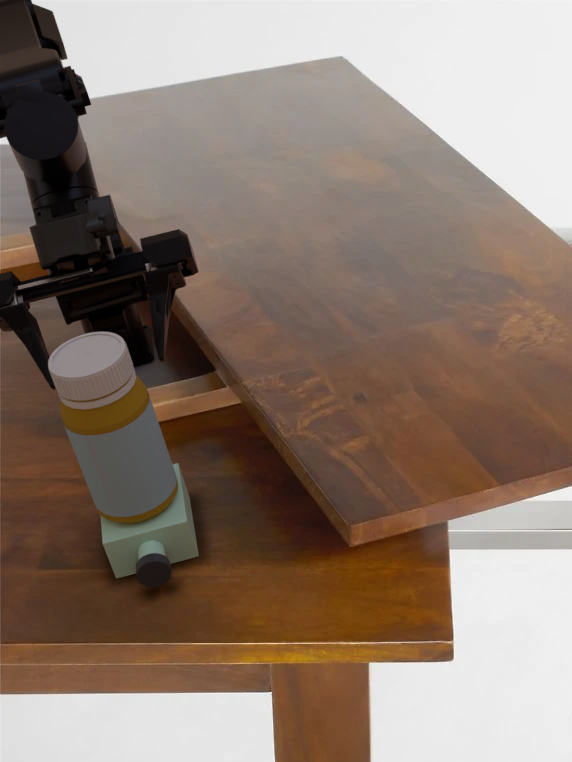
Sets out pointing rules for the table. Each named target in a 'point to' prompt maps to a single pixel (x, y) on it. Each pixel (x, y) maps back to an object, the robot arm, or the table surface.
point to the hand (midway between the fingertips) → (108, 374)
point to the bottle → (113, 428)
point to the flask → (153, 541)
